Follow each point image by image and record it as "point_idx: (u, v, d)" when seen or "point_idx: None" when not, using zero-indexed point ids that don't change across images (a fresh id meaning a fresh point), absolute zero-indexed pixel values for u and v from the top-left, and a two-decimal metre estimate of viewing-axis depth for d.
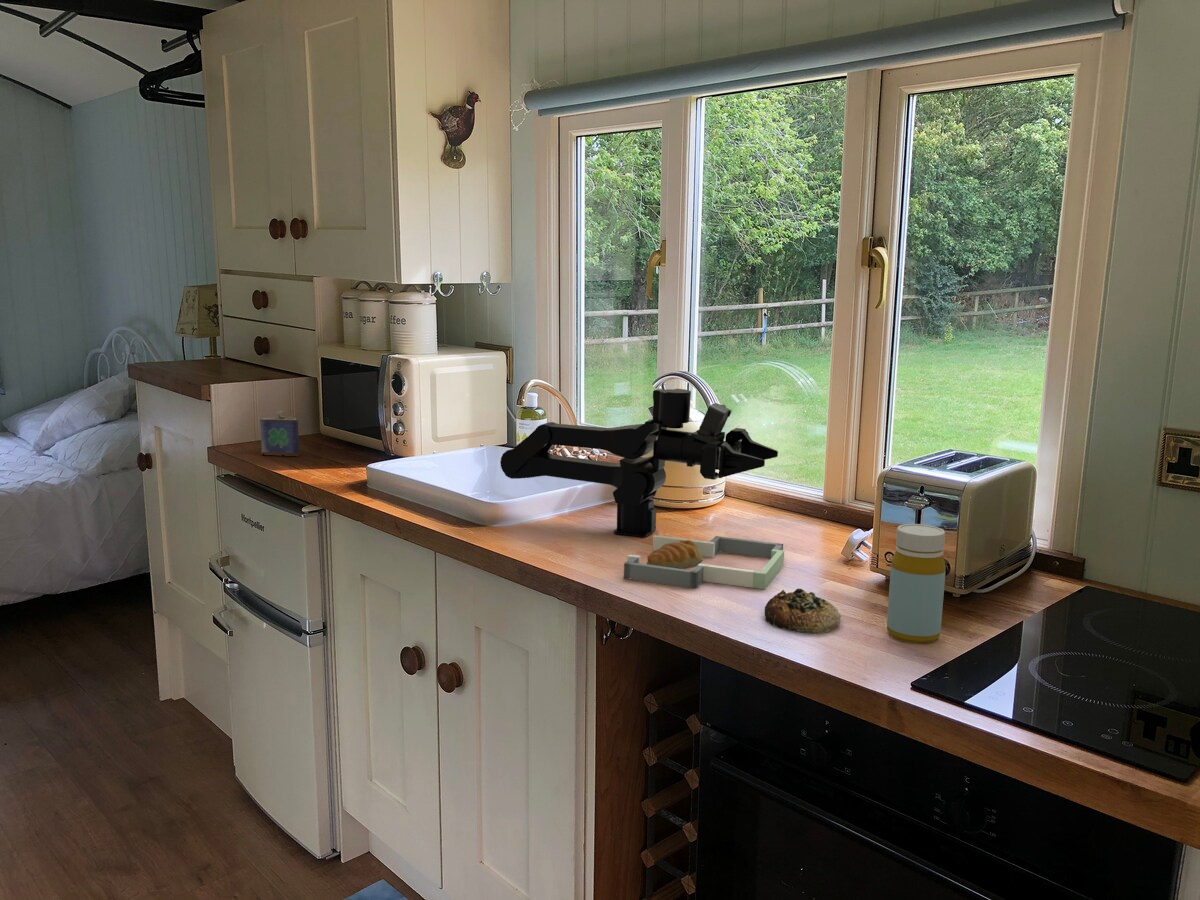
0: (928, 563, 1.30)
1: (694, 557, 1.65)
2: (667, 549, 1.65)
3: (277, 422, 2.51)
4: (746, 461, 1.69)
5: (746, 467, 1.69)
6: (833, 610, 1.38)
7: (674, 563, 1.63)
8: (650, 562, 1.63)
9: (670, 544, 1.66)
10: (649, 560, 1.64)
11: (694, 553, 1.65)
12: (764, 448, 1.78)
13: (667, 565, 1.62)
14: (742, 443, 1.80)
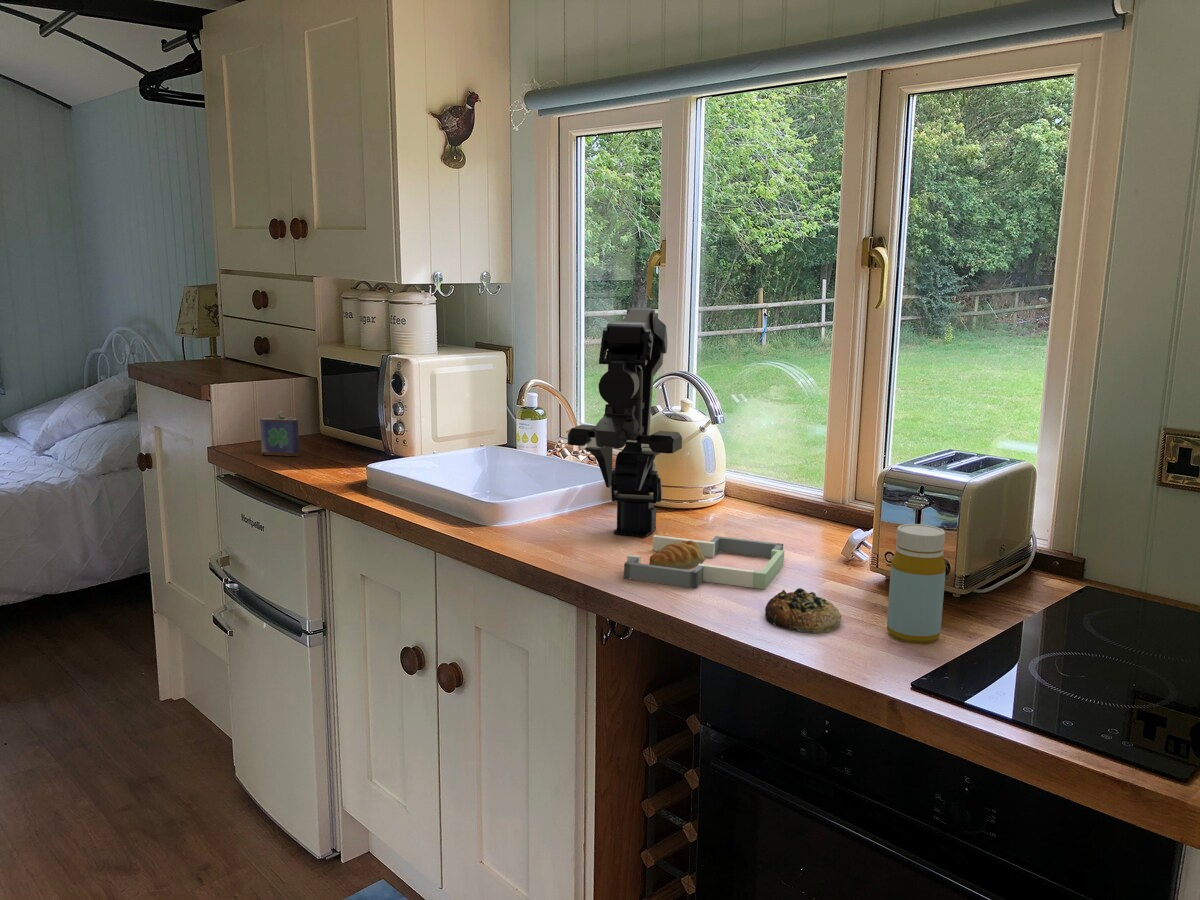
0: (928, 563, 1.30)
1: (696, 557, 1.65)
2: (669, 549, 1.65)
3: (277, 422, 2.51)
4: None
5: None
6: (834, 610, 1.38)
7: (676, 564, 1.63)
8: (653, 562, 1.63)
9: (672, 544, 1.66)
10: (651, 561, 1.63)
11: (696, 553, 1.65)
12: (637, 476, 1.66)
13: (669, 566, 1.62)
14: (640, 452, 1.64)
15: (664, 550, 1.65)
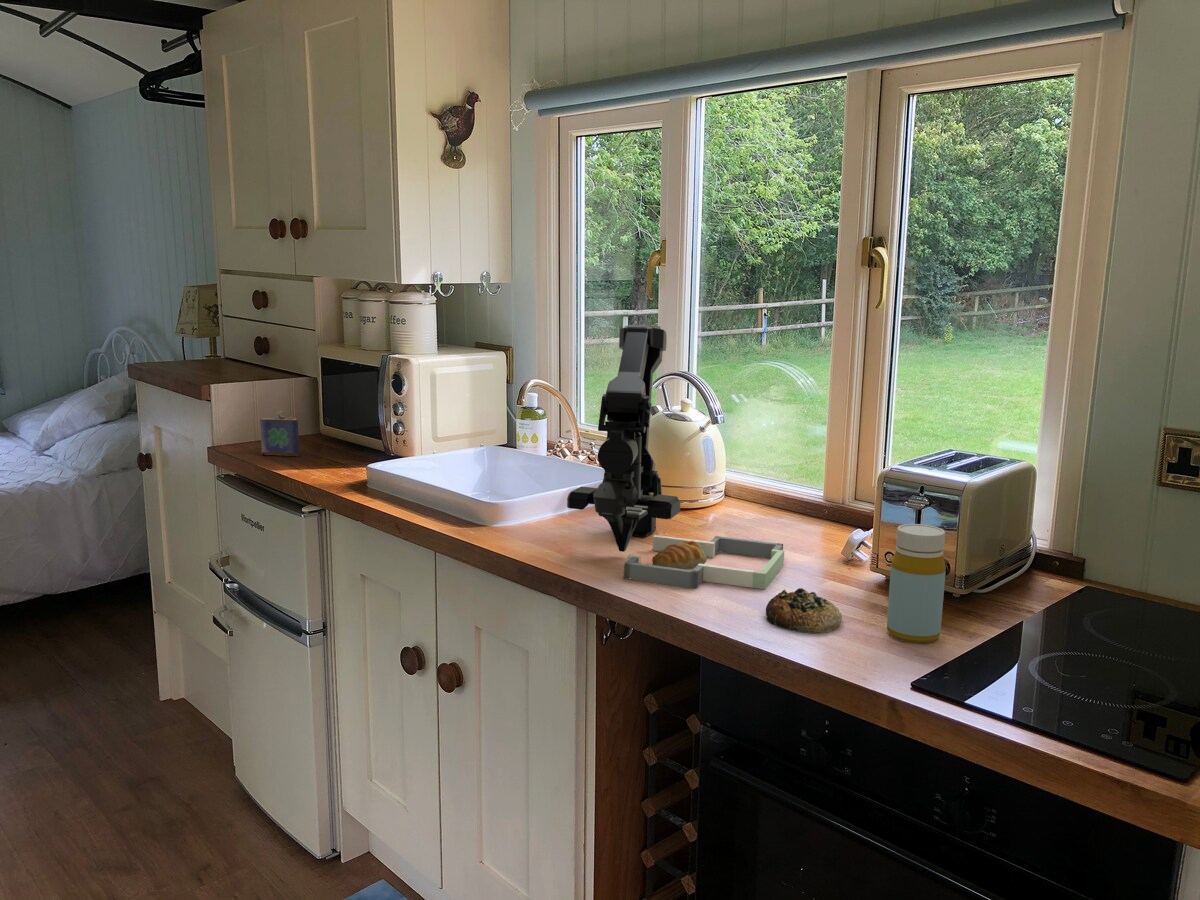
0: (928, 563, 1.30)
1: (698, 557, 1.64)
2: (671, 550, 1.64)
3: (277, 422, 2.51)
4: None
5: None
6: (834, 610, 1.38)
7: (679, 564, 1.62)
8: (655, 563, 1.63)
9: (674, 545, 1.66)
10: (654, 561, 1.63)
11: (699, 554, 1.64)
12: (621, 538, 1.69)
13: (672, 566, 1.62)
14: None
15: (666, 551, 1.64)
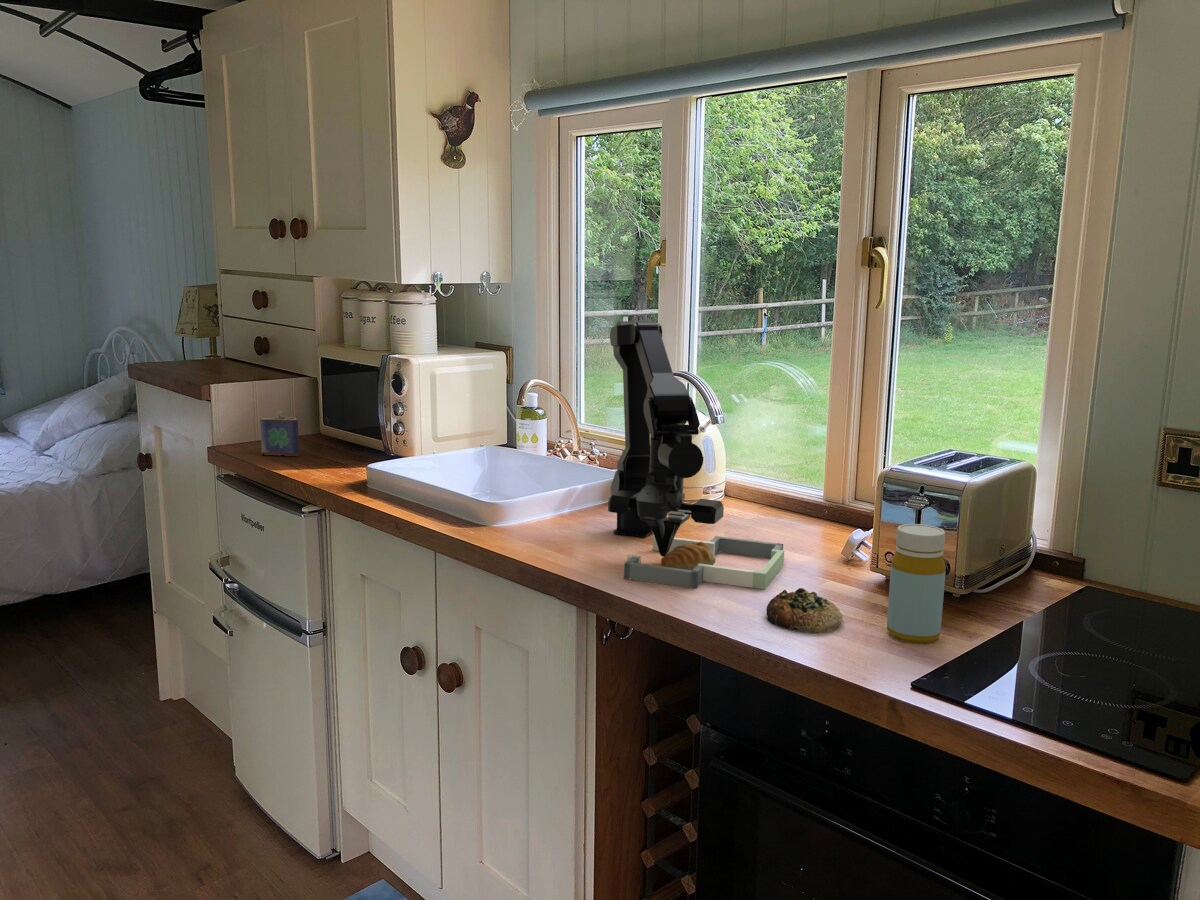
0: (928, 563, 1.30)
1: (707, 558, 1.64)
2: (680, 551, 1.63)
3: (277, 422, 2.51)
4: None
5: None
6: (835, 610, 1.39)
7: (688, 566, 1.61)
8: (665, 564, 1.62)
9: (683, 546, 1.65)
10: (663, 563, 1.62)
11: (708, 555, 1.64)
12: (663, 543, 1.66)
13: (681, 568, 1.61)
14: (667, 519, 1.65)
15: (675, 552, 1.64)
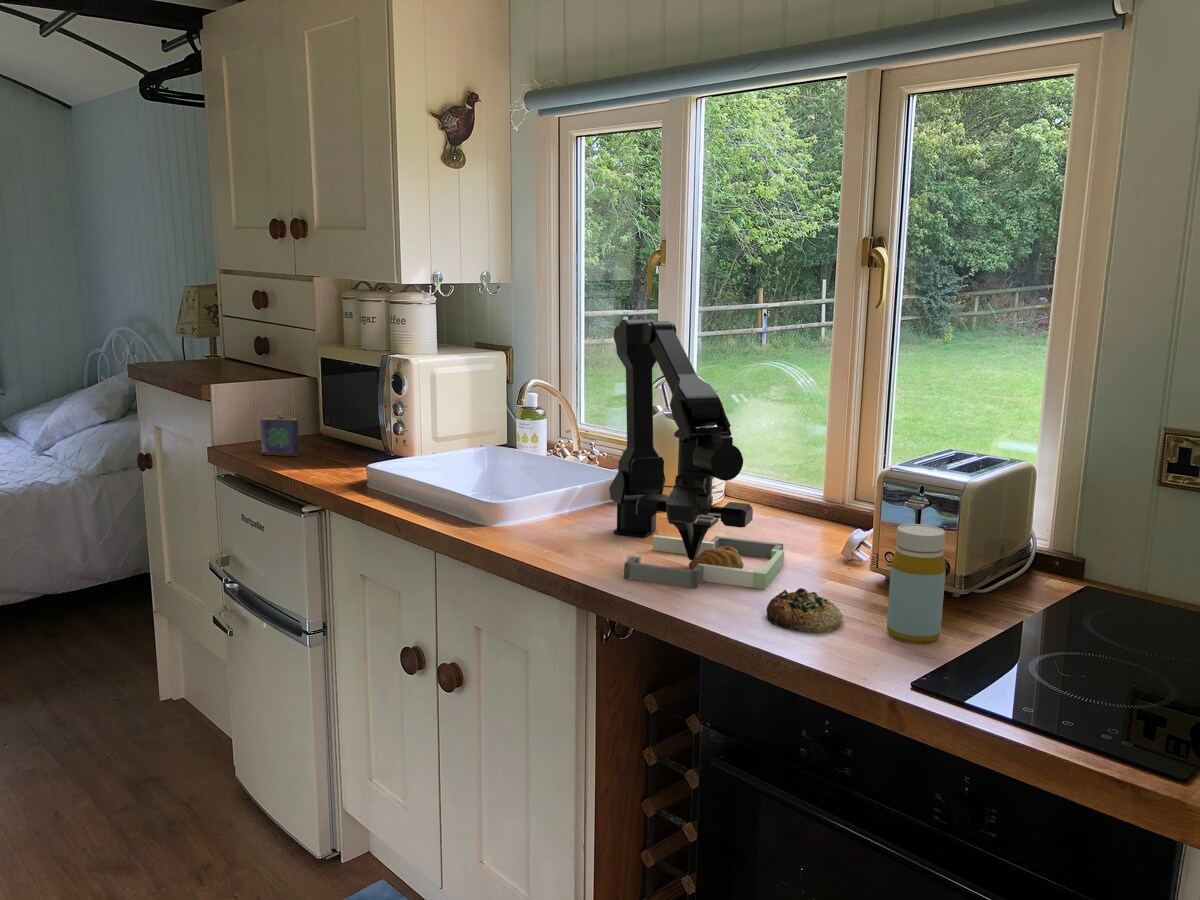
0: (928, 563, 1.30)
1: (736, 563, 1.61)
2: (708, 555, 1.61)
3: (277, 422, 2.51)
4: None
5: None
6: (835, 610, 1.39)
7: None
8: (692, 569, 1.60)
9: (711, 550, 1.63)
10: (691, 567, 1.60)
11: (736, 559, 1.62)
12: (691, 546, 1.64)
13: None
14: None
15: (703, 556, 1.61)
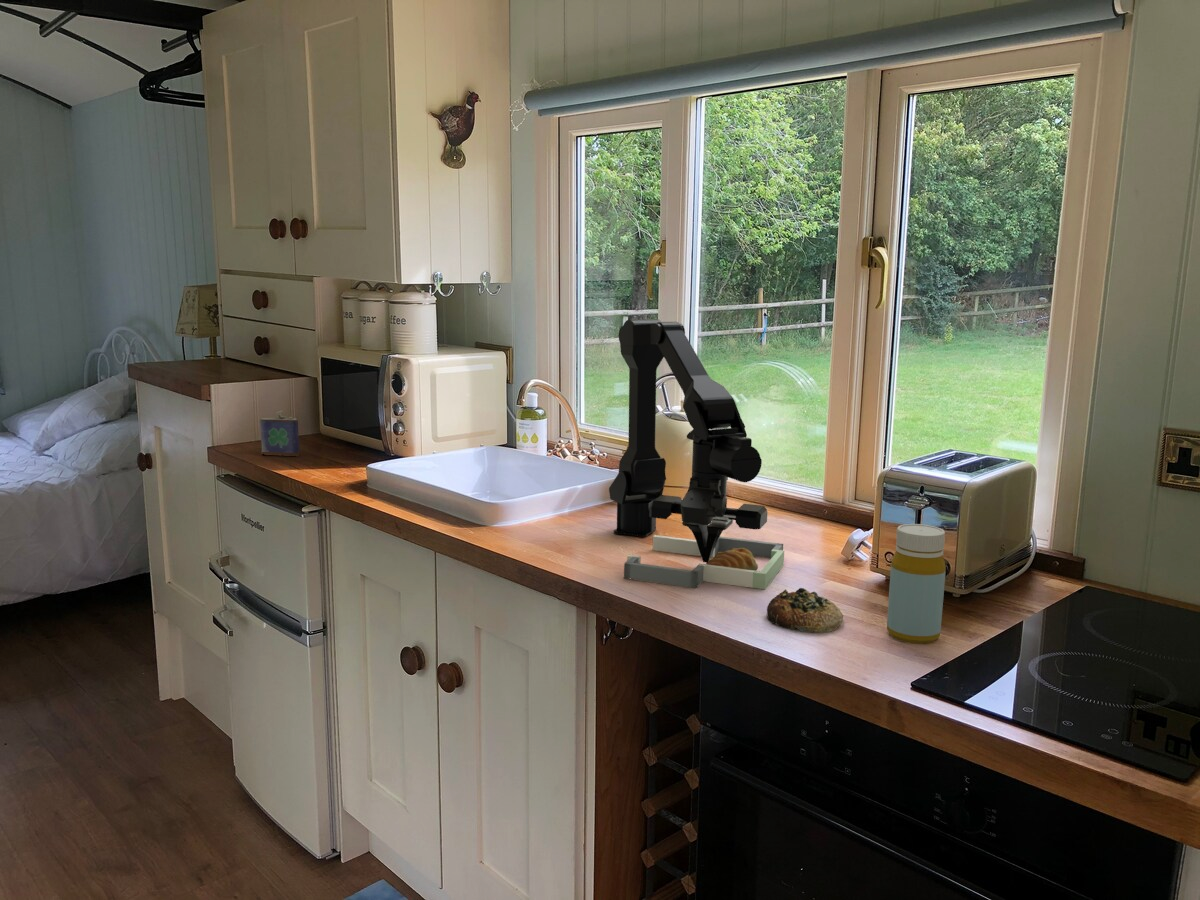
0: (928, 563, 1.30)
1: (751, 565, 1.61)
2: (723, 557, 1.60)
3: (277, 422, 2.51)
4: None
5: None
6: (835, 609, 1.39)
7: None
8: None
9: (725, 552, 1.62)
10: None
11: (751, 561, 1.61)
12: (706, 548, 1.63)
13: None
14: None
15: (718, 558, 1.60)
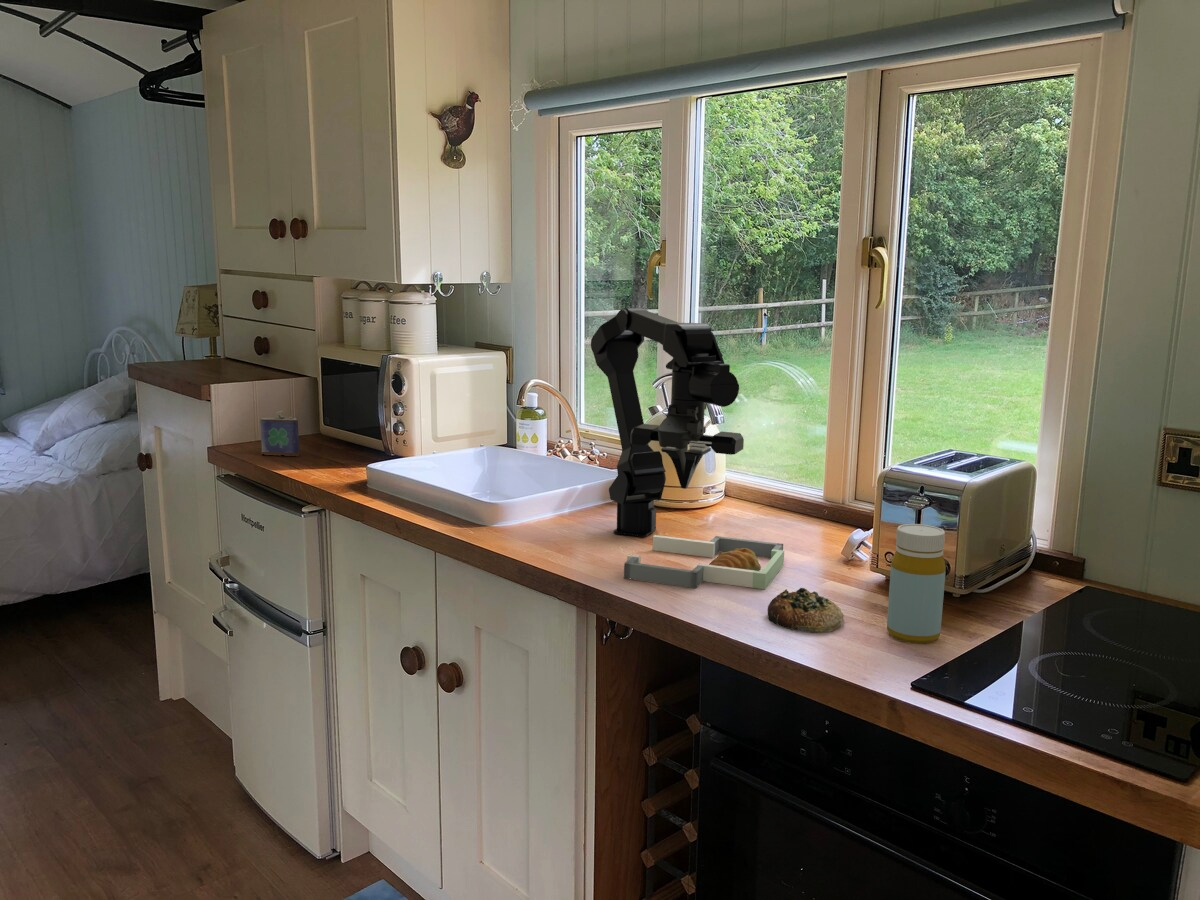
0: (928, 563, 1.30)
1: (754, 565, 1.61)
2: (726, 558, 1.60)
3: (277, 422, 2.51)
4: None
5: None
6: (836, 609, 1.39)
7: None
8: None
9: (728, 553, 1.62)
10: None
11: (754, 561, 1.61)
12: (684, 474, 1.69)
13: None
14: None
15: (721, 559, 1.60)
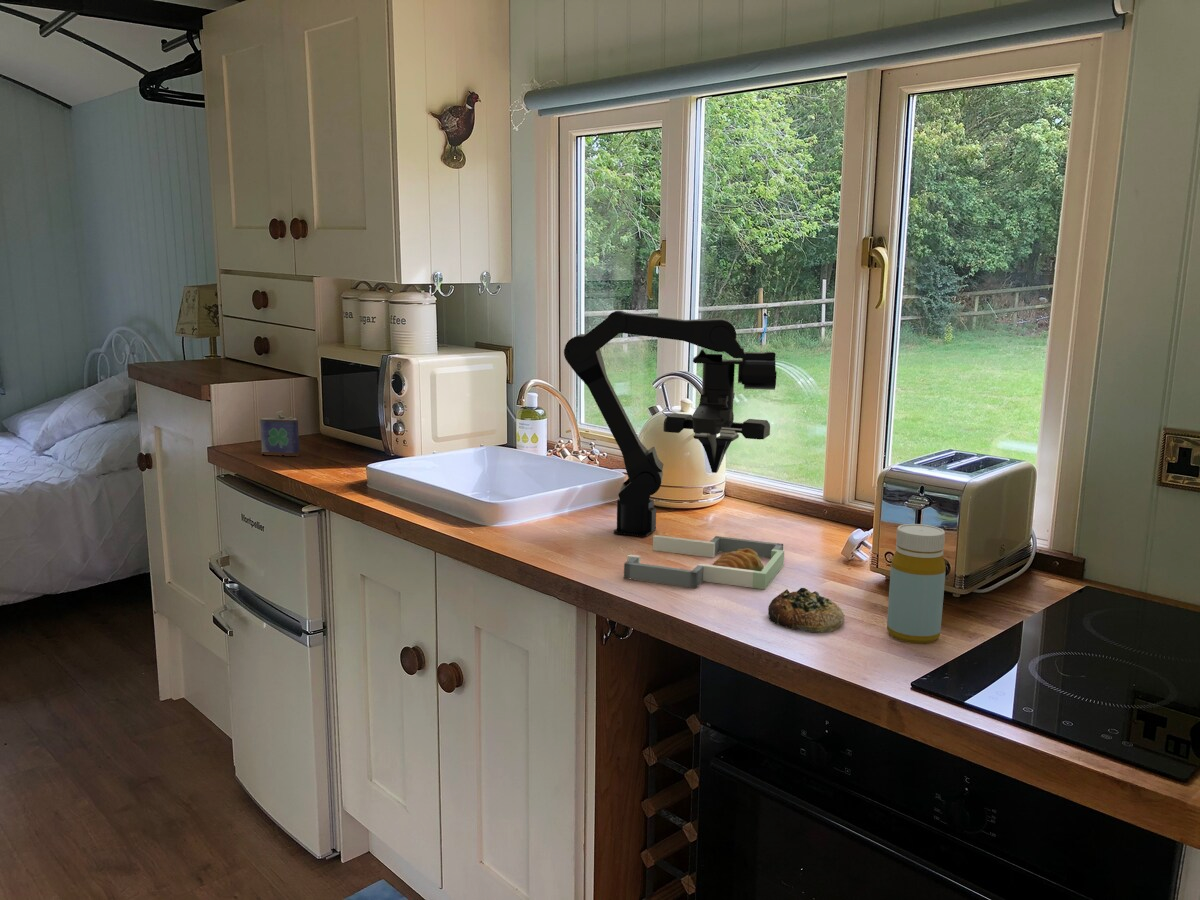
0: (928, 563, 1.30)
1: (757, 565, 1.60)
2: (729, 558, 1.60)
3: (277, 422, 2.51)
4: None
5: None
6: (837, 609, 1.39)
7: None
8: None
9: (731, 553, 1.62)
10: None
11: (757, 562, 1.61)
12: (714, 460, 1.81)
13: None
14: None
15: (724, 559, 1.60)
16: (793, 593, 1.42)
